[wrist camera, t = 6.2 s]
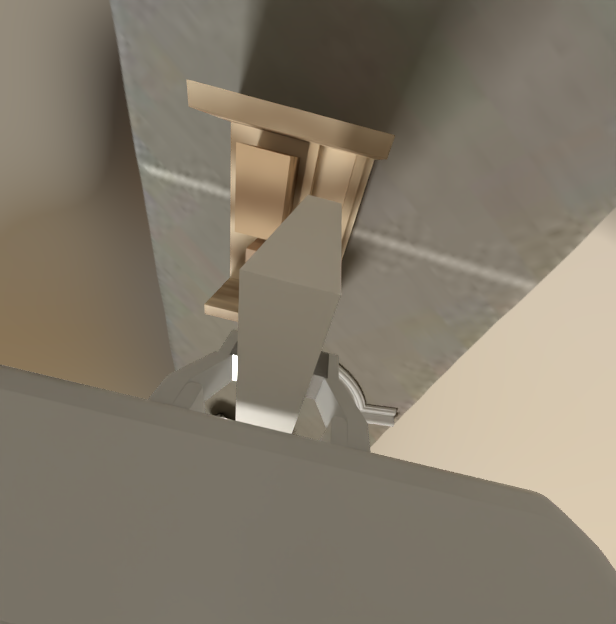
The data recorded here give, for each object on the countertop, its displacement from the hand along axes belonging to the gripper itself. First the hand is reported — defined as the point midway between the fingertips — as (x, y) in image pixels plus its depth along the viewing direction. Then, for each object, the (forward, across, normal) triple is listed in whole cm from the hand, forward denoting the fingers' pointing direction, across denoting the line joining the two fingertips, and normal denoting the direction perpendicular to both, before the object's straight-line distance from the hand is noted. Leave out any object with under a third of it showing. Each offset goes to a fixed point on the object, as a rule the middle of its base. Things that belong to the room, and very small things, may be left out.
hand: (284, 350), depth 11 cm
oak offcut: (+22, +6, -4) cm, 23 cm away
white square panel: (+10, 0, 0) cm, 10 cm away
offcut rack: (+23, +4, 0) cm, 24 cm away
